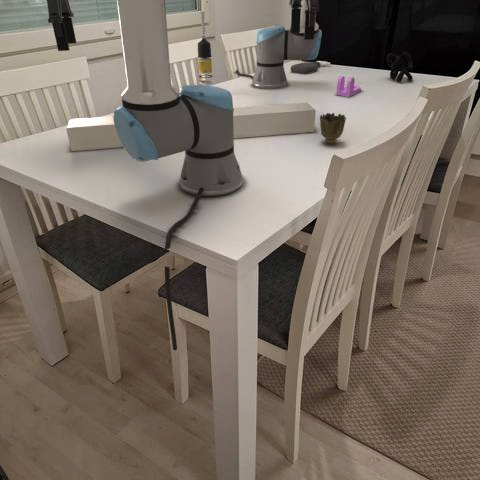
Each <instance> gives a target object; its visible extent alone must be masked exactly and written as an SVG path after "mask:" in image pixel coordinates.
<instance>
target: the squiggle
mask: <svg viewBox="0 0 480 480" xmlns="http://www.w3.org/2000/svg"><path fill="white" fill-rule="evenodd" d="M401 57H402V59H401ZM391 59H392V60H391ZM393 60H394V61H393ZM385 61H386V64H387V67H390V68H391V70H390V72H389V78H390V79H391V80H395V79H396V81H397V82H399V83H400V82H402V81H403V79H404V76H406V78H407V80H408V81H412V80H413V79H414V77H413V75H412V74H411V73H410V72H409V71H410V70H412V69H413V68H414V64H413V61H412V57H411V54H410V53H409V52H408V51H403V53H402V54H401V55H396V54H394V53H392V52H390V53H387V55H386V57H385ZM406 62H407V65H408V66H407V67H405V66H404V65H405V64H406ZM400 70H401V71H400Z"/></svg>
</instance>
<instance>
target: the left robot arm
mask: <svg viewBox="0 0 480 480" xmlns="http://www.w3.org/2000/svg"><path fill="white" fill-rule="evenodd" d="M116 3H117V10H118V11H117V12H118V18H119V27H120V35H121V43H122V52H123V59H124V66H125V67H124V68H125V75H126V83H127V87H126V88H125V89H124V91H123V92H122V93H121V104H122V106H118V108H115V110H114V111H113V116H114V125H115V128H116V132H117V134H118V137H119V139H120V141H121V143H122V145H123V147H122V148H124V150H125V152H126V153H127V154H128V155H129V156H130V157H131V158H132V159H133V160H135V161H136V162H139V163H144V162H150V161H157V160H159V159H161V158H166V157H169V156H172V155H176V154H179V153H183V152H184V154H185V155H184V158H183V164H182V168H181V171H180V177H179V178H180V179H179V183H180V184H179V185H180V188H181V189H182V191H184V192H186V193H187V194H190V195H194V196H195V197H194V199H193V202H192V204H191V205H190V208H189V210H188V212H187V213H186V214H185V215H184V217H182V218H181V219H180V220H178V221H176V222H175V223H174V224H173V225H172V226H171V227H170V228H169V229H168V231H167V233H166V237H165V244H164V249H165V250H169V249H170V248H171V241H172V236H173V233H174V232H175V231H176V229H177V228H178V227H180V226H182V225H183V224H184V223H186V222H187V221H188V220H189V219H190V218H191V216H192V215H193V213H194V211H195V209H196V207H197V204H198V203H199V200H200V199H201V197H221V196H224V195H229V194H232V193H234V192H235V191H237V190H239V189H240V188H241V187H242V185H243V174H242V171H241V167H240V163H239V161H238V160H237V157H236V154H235V138H234V129H233V111H234V109H233V108H234V102H233V96H232V93H231V91H229V90H227V89H225V88H223V87H218V86H213V85H202V84H187V85H183V86H181V87H180V88H179V91H178V89H177V88H176V87H174V86H173V85H172V76H171V63H170V51H169V50H170V49H169V37H168V36H169V35H168V23H167V22H168V21H167V10H166V9H167V8H166V0H116ZM46 4H47V5H46V6H47V11H48V18H47V21H48V24H52V25H51V26H52V30H53V33H54V38H55V42H56V47H57V48H56V49H57V51H58V52H65V51H66V52H67V51H68V52H69V51H70V44H71V45H72V44H77V39H76V35H75V28H74V23H73V19H72V18H75V15H74V12H73V11H72V9H71V6H70V1H69V0H46ZM170 273H171V271H170V267H169V266H164V284H165V297H166V307H167V315H168V322H169V329H170V335H171V344H172V351H177V350H178V344H177V342H178V341H177V336H176V335H177V333H176V326H175V320H174V312H173V304H172V292H171V274H170Z"/></svg>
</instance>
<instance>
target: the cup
mask: <svg viewBox="0 0 480 480" xmlns="http://www.w3.org/2000/svg"><path fill="white" fill-rule="evenodd" d="M346 120H347V116H346V115H345V114H341V113H338V115H335V113H334V112H332V113H330V112H327V113H326V114H324V113H322V114H320V115H319V126H320V134H321V136H322V137H323V138H324V143H325V144H328V145H335V144H336V143H338V139H339V138H340V137H342V135H343V132H344V129H345V124H346Z"/></svg>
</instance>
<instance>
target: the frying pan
mask: <svg viewBox="0 0 480 480" xmlns="http://www.w3.org/2000/svg"><path fill="white" fill-rule="evenodd" d="M327 65H328V66H330V65H331V62H328V61H325V60H323V61H322V60H316V61H308V62H306V61H304V62H300V63H299V62H298V63H295V64H292V65H291V66H290V68H289V70H290V72H291V73H295V74H303V75H305V74H311V73H314V72H316V71H317V70H318V69H319V67H320V66H327Z"/></svg>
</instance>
